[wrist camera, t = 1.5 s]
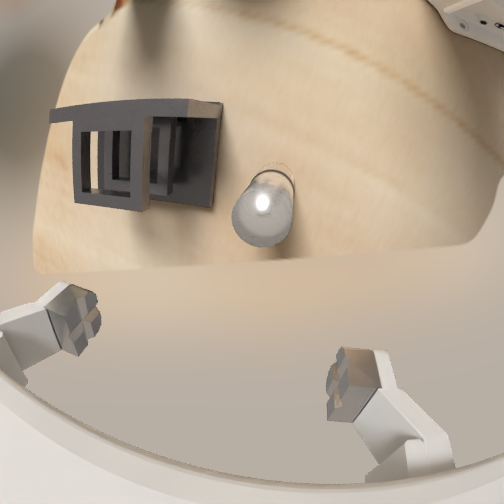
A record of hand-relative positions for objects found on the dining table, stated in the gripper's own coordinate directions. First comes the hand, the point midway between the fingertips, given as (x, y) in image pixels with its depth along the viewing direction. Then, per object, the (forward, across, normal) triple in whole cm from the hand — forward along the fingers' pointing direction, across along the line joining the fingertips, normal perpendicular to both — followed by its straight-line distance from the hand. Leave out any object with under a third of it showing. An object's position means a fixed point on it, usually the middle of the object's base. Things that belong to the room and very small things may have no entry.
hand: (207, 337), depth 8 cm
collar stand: (+26, +15, -2) cm, 30 cm away
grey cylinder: (+26, 0, 0) cm, 26 cm away
